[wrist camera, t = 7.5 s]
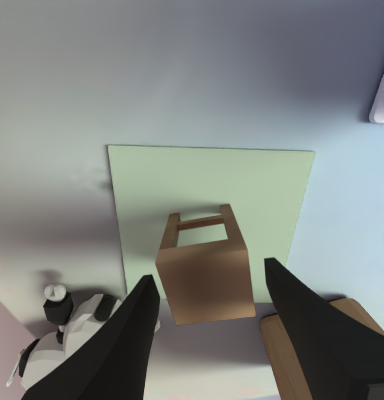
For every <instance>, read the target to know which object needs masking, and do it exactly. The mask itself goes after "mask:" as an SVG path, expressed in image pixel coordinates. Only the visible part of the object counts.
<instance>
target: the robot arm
mask: <svg viewBox="0 0 384 400" xmlns="http://www.w3.org/2000/svg"><path fill="white" fill-rule="evenodd" d="M369 120H370V122H371V123H378V124H384V74H383V77H382V80H381V83H380V86H379V89H378V92H377V95H376V98H375V100H374V103H373V106H372V109H371V112H370V115H369ZM264 267H265V280H266V286H267V288H268V291H269V294H270V297H271V300H272V302H273V304H274V306H275V309H276V311H277V313H278V315H279V317H280V319H281V321H282V323H283V326H284V328H285V330H286V332H287V334H288V336H289V338H290V341H291V343H292V345H293V347H294V350H295V353H296V355H297V358H298V361H299V363H300V366H301V369H302V371H303V374H304V377H305V380H306V382H307V385H308V388H309V391H310V393H311V396H312V399H313V400H384V335H382V334H380V333H378V332H376V331H374V330H372V329H371V328H369V327H367V326H365V325H364V324H362V323H360V322H358V321H357V320H355V319H353V318H352V317H350V316H348V315H347V314H345V313H343V312H342V311H340V310H339V309H337V308H336V307H334V306H333V305H331V304H330V303H328V302H327V301H326V300H324V299H323V298H321V297H320V296H319V295H317V294H316V293H315V292H313V291H312V290H311V289H310V288H308V287H307V286H306V285H305V284H303V283H302V282H301V281H300V280H299V279H298V278H296V277H295V276H294V275H293V274H292V273H291V272H290V271H289V270H287V269H286V268H285V267H284V266H283V265H282V264H281V263H280V262H279V261H278V260H277V259H276V258H275V257H271V258H264ZM159 305H160V295H159V292H158V289H157V286H156V283H155V281H154V278H153V275H152V274H149V275H143V276H142V278H141V279H140V280H139V282H138V283H137V284H136V286H135V287H134V288H133V290H132V291H131V292H130V294H129V295H128V296H127V297H126V299H125V300H124V301H123V303H122V304H121V305H120V306H119V307H118V309H117V310H116V311H115V312H114V313H113V315H112V316H111V317H110V318H109V319H108V320H107V321H106V323H105V324H104V325H103V326H102V327H101V328H100V329H99V330H98V331H97V332H96V333H95V334H94V335H93V336H92V337H91V338H90V339H89V340H88V341H86V342H85V343H84V344H83V345H82V346H81V347H80V348H79V349H78V350H77V351H76V352H75V353H73V354H72V355H71V356H70V357H69V358H68V359H66V360H65V361H64V362H63V363H61V364H60V365H59V366H58V367H56V368H55V369H54V370H53V371H51V372H50V373H49V374H47V375H46V376H45V377H43V378H42V379H41V380H39V381H38V382H37V383H35V384H34V385H33V386H31V387H30V388H28V390H27V391H26V393H25V394H24V396H23V397H22V399H21V400H143V395H144V387H145V379H146V372H147V365H148V359H149V353H150V349H151V344H152V340H153V336H154V331H155V327H156V322H157V318H158V313H159Z"/></svg>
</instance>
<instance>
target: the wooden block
mask: <svg viewBox="0 0 384 400" xmlns="http://www.w3.org/2000/svg"><path fill="white" fill-rule="evenodd" d="M328 303H330V304H331V305H333V306H334V307H336V308H337V309H339V310H340V311H342V312H343V313H345V314H347V315H348V316H350V317H352V318H353V319H355V320H357V321H358V322H360V323H362V324H364V325H365V326H367V327H369V328H371V329H372V330H374V331H376V332H378V333H380V334H382V335H384V331H383V330H382V328H381V327H380V326H379V325H378V324H377V323H376V322H375V321H374V319H373V318H372V317H371V316H370V315H369V314H368V313H367V312H366V310H365V309H364V308H363V307H362V306H361V305H360V304H359V303H358V302H357V301H355V300H354V299H351V298H344V299H339V300H335V301H331V302H328ZM260 331H261V334H262V337H263V341H264V344H265V347H266V351H267V354H268V357H269V361H270V364H271V367H272V371H273V374H274V377H275V381H276V384H277V387H278V391H279V394H280V397H281V400H313V399H312V396H311V393H310V391H309V388H308V385H307V382H306V380H305V377H304V374H303V371H302V369H301V366H300V363H299V361H298V358H297V355H296V353H295V350H294V347H293V345H292V343H291V341H290V338H289V336H288V334H287V332H286V330H285V328H284V326H283V323H282V321H281V319H280V317H279V315H278V314H277V315H272V316H268V317H265V318H264V319H262V320H261V328H260Z"/></svg>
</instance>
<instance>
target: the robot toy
mask: <svg viewBox="0 0 384 400" xmlns="http://www.w3.org/2000/svg"><path fill="white" fill-rule="evenodd" d="M103 295H104V294H95V295H94V296H93V297H92V298H91V299H89V300H88V301H85V302H83V303H82V304H81V305H80V306H79V307H78V309H77V310H76V312H75V313H74V315H73V316H72V318H71V319H70V321H69V318H70V315H71V312H72V310H73V307H74V306H73V301H72V297H71V293H69V292H66V288H65V286H64V285H63V284H60V283H57V284H56V285H54V283H50V284H49V285H47V286H46V287H45V290H44V296H45V297H46V298H48V299H47V301H46V302H45V304H44V306H43V307H44V311H45V314H46V317H47V320H48V321H50V322H52V323H54V324H56V325H59V329H58V331H55V332H51V333H48V334H47V335H45V336H44V337H43V338H42V339H36V340H35V341H34V342H33V343H32V344H30V345H29V346H28V347H27V349H26V350H25V349H23V350H22V351H21V352H20V353H19V355H18V358H17V359H18V361H17V363H16V366H15V368H14V370H13V372H12V374H11V377H10V379H9V381H8V382H7V385H6V386H7V387H8V386H9V385H10V384H11V382H12V380H13V377H14V374H15V372H16V370H17V368H18V366H19V375H20V376H21V377H22V381H21V386H23V387H24V388H25V389H26V390H28V388H30V387H31V386H33V385H34V384H35V383H37V382H38V381H39V380H41V379H42V378H43V377H45V376H46V375H47V374H49V373H50V372H51V371H53V370H54V369H55V368H56V367H58V366H59V365H60V364H61V363H63V362H64V361H65V360H66V359H68V358H69V357H70V356H71V355H72V354H73V353H75V352H76V351H77V350H78V349H79V348H80V347H81V346H82V345H83V344H84V343H85V342H86V341H88V340H89V339H90V338H91V337H92V336H93V335H94V334H95V333H96V332H97V331H98V330H99V329H100V328H101V327H102V326H103V325H104V324H105V323H106V321H107V320H108V319H109V318H110V317H111V316H112V315H113V313H114V312H115V311H116V310H117V309H118V307H119V306H120V305H121V304H122V302H121V301H120V300H119V299H118V300H117V302H116V304H115V299H114V298H113V297H110V296H105V297H103ZM102 297H103V299H102V300H101V298H102ZM114 304H115V305H114ZM160 326H161V325H160V321H159V320H157V322H156V327H155V331H154V333H155V332H156V331H157V330H158V329H159V328H160Z"/></svg>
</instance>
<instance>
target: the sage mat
mask: <svg viewBox="0 0 384 400" xmlns="http://www.w3.org/2000/svg"><path fill="white" fill-rule="evenodd" d="M108 152H109V160H110V167H111V174H112V182H113V189H114V197H115V204H116V211H117V219H118V226H119V234H120V241H121V249H122V256H123V263H124V271H125V278H126V286H127V293H128V295H129V294H130V292H131V291H132V290H133V288H134V287H135V286H136V284H137V283H138V282H139V280H140V279H141V278H142V276H143V275H149V274H152V275H153V278H154V281H155V283H156V286H157V289H158V292H159V295H160V298H164V299H167V298H166V295H165V292H164V289H163V286H162V283H161V280H160V277H159V274H158V271H157V269H156V266H155V261H156V258H157V255H158V251H159V248H160V244H161V241H162V238H163V234H164V231H165V228H166V224H167V221H168V217H169V214H173V213H179V215H180V219H181V221H186V220H192V219H198V218H204V217H210V216H216V215H221V210H220V205H224V204H230V206H231V208H232V211H233V213H234V216H235V218H236V221H237V223H238V226H239V229H240V231H241V234H242V236H243V239H244V241H245V244H246V246H247V249H248V256H249V264H250V273H251V281H252V290H253V298H254V302H261V303H273V302H272V300H271V297H270V294H269V291H268V288H267V286H266V280H265V267H264V258H271V257H275V258H276V259H277V260H278V261H279V262H280V263H281V264H282V265H283V266H284V267H285V266H286V262H287V258H288V254H289V251H290V247H291V243H292V239H293V236H294V232H295V228H296V224H297V220H298V217H299V213H300V209H301V205H302V202H303V198H304V194H305V190H306V187H307V183H308V179H309V175H310V172H311V168H312V164H313V160H314V156H315V153H316V152H314V151H291V150H259V149H226V148H194V147H162V146H130V145H108ZM225 239H228V238H227V234H226V230H225V227H224V224H218V225H212V226H206V227H200V228H194V229H188V230H182V231H179V237H178V243H177V247H181V246H187V245H193V244H200V243H206V242H212V241H219V240H225Z"/></svg>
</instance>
